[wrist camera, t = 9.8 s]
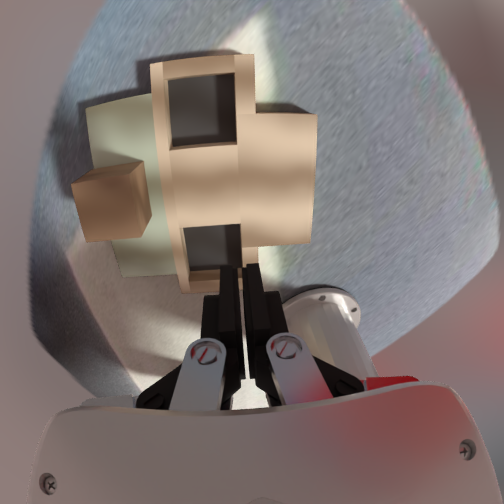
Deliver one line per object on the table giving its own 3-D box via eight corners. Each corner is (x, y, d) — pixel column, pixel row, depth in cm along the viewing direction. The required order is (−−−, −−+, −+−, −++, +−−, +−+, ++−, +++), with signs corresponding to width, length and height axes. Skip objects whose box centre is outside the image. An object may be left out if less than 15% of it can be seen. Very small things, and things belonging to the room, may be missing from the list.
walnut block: (152, 215, 23) (141, 237, 20) (103, 220, 23) (86, 242, 20) (143, 160, 21) (128, 174, 17) (91, 169, 20) (70, 184, 17)
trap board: (301, 273, 31) (305, 284, 29) (133, 284, 29) (128, 296, 28) (310, 60, 19) (317, 57, 17) (93, 81, 18) (83, 81, 16)
